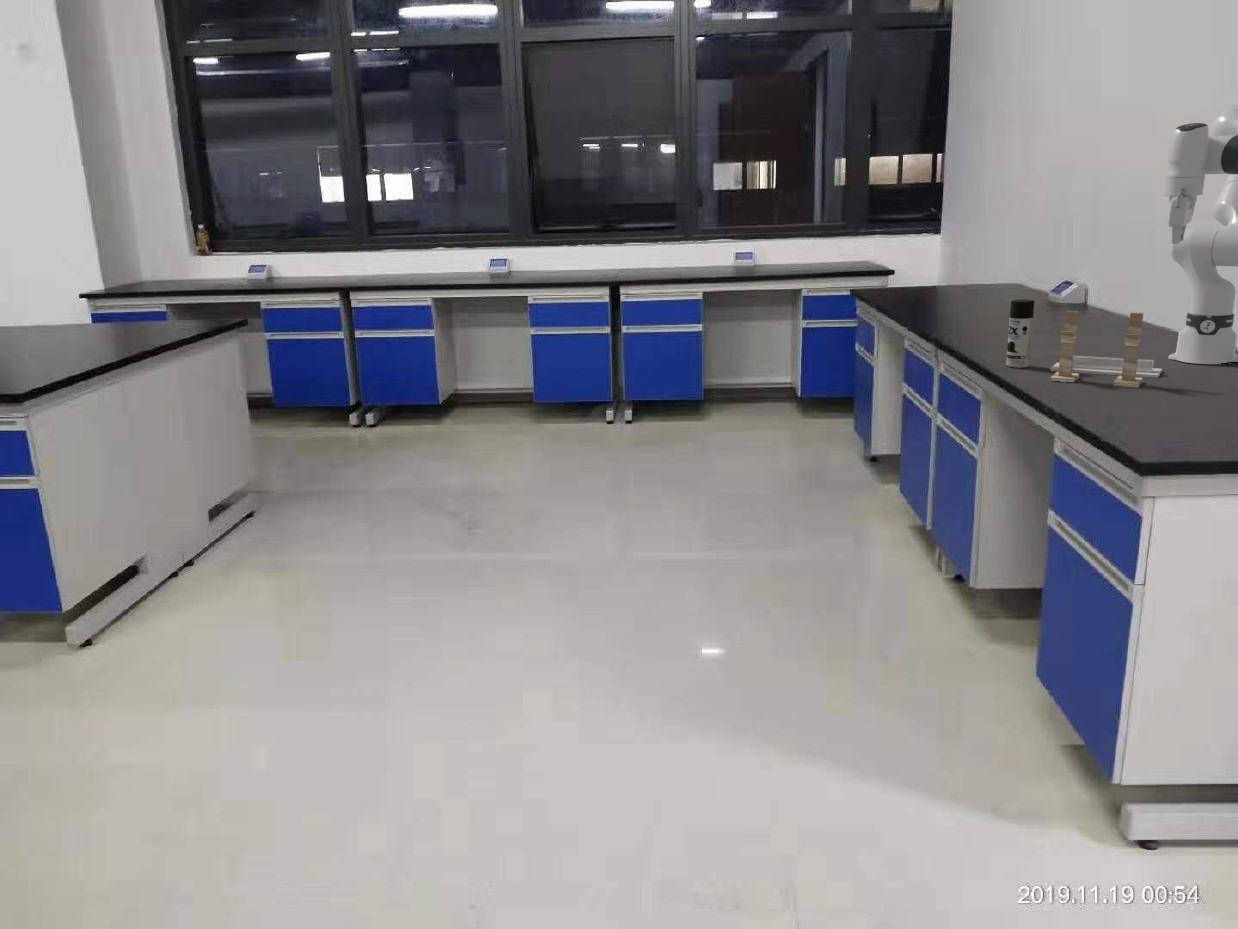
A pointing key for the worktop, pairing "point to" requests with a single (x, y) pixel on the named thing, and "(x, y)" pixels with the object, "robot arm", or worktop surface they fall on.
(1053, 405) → the worktop surface
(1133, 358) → the hook post
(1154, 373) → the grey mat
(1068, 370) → the hook post
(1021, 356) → the spray can
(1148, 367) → the steel bar
